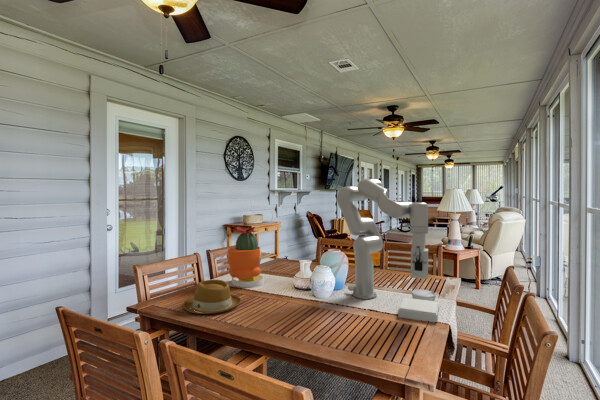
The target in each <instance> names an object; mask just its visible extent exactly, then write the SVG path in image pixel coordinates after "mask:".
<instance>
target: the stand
mask: <svg viewBox="0 0 600 400" xmlns="http://www.w3.org/2000/svg"><path fill="white" fill-rule="evenodd" d="M439 311H440V303H439V302H438V301H435V300H434V301H428V300H420V299H413V297H411V298H410V297H404V298H403V299H402V301H401V303H400V306H399V308H398V311H397V313H398V314H397V317H398V318H404V319H410V320H414V321H415V320H416V321H421V320H422V321H423V322H428V321H429V322H428V323H435V322H437V323H438V320H439V313H438V312H439Z"/></svg>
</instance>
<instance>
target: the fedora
mask: <svg viewBox="0 0 600 400" xmlns="http://www.w3.org/2000/svg"><path fill="white" fill-rule="evenodd" d="M230 289H231V288H230V286H229V283H228V282H227V281H225V280H222V279H207V280H202V281H200V282H198V284H197V287H196V289H195V291H194V295H193V296H190V297H188V298H187V299H185V301H183V308H184V310H186V311H187V312H189V313H192V314H200V315H211V314H220V313H225V312H229V311H231V310H233V309H235V308H236V307H237V306H238V305H240V303H241V302H242V299H241V298H240V297H239V296H237V295H234V294H231V290H230ZM190 308H191V309H190ZM194 310H195V311H199V312H202V313H197V312H195V311H194Z"/></svg>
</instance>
